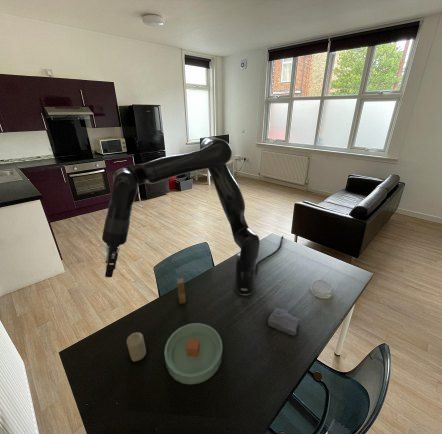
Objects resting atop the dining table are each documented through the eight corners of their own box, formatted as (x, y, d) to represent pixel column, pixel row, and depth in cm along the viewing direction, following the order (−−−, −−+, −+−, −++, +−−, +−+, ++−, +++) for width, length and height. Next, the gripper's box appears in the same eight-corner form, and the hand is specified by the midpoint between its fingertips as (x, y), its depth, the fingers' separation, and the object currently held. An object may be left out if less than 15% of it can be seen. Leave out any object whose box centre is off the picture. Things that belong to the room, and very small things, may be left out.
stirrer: (178, 299, 113) (176, 279, 107) (185, 298, 113) (183, 278, 108) (179, 303, 110) (177, 283, 105) (185, 302, 111) (184, 282, 105)
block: (189, 345, 90) (188, 338, 88) (199, 346, 90) (199, 339, 88) (186, 355, 86) (186, 348, 85) (197, 356, 86) (197, 349, 85)
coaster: (328, 285, 121) (329, 280, 120) (334, 300, 112) (336, 294, 111) (308, 284, 122) (309, 278, 121) (312, 298, 113) (314, 292, 112)
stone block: (272, 313, 107) (266, 326, 99) (274, 304, 106) (268, 316, 97) (299, 324, 102) (294, 339, 94) (301, 315, 101) (297, 329, 92)
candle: (137, 365, 84) (132, 346, 80) (127, 357, 87) (122, 338, 82) (149, 352, 88) (145, 334, 84) (139, 345, 91) (135, 327, 87)
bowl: (185, 325, 99) (185, 316, 97) (230, 343, 92) (231, 334, 90) (153, 370, 83) (152, 361, 80) (205, 396, 75) (205, 387, 73)
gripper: (129, 239, 75) (120, 282, 80) (127, 221, 87) (119, 259, 92) (103, 236, 72) (95, 281, 76) (104, 218, 83) (97, 258, 88)
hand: (108, 269), depth 84 cm, fingers open, 8 cm apart
